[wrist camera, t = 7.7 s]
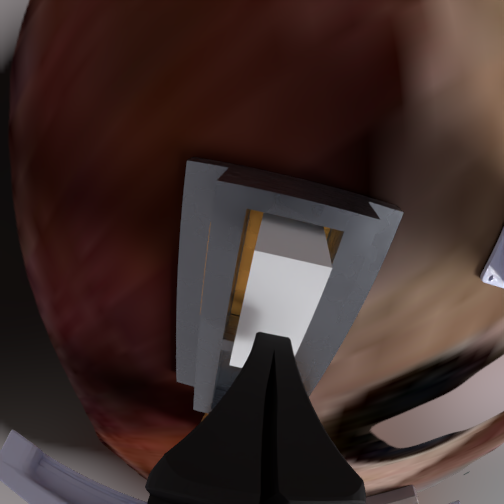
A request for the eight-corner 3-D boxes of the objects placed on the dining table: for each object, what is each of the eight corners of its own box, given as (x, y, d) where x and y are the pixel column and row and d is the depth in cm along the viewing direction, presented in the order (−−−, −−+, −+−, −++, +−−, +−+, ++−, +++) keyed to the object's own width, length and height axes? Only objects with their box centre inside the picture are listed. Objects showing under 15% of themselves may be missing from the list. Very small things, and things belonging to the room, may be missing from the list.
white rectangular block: (321, 216, 15) (332, 267, 11) (288, 314, 18) (285, 376, 14) (265, 203, 15) (254, 250, 11) (243, 305, 19) (229, 365, 14)
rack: (397, 206, 15) (420, 232, 12) (301, 399, 25) (300, 429, 22) (192, 156, 15) (168, 171, 12) (179, 373, 25) (168, 402, 22)
